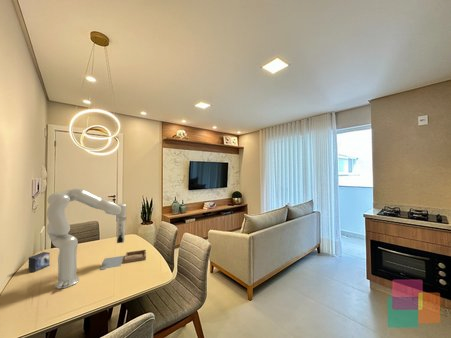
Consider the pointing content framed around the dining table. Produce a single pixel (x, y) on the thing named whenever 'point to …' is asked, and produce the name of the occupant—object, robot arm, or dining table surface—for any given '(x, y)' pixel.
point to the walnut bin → (135, 256)
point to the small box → (38, 261)
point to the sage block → (122, 238)
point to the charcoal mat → (112, 262)
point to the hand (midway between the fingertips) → (120, 240)
